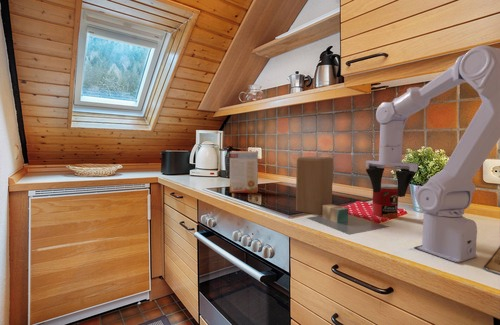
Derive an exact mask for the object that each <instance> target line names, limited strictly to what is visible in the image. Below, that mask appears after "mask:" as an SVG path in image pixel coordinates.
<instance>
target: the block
mask: <svg viewBox="0 0 500 325" xmlns="http://www.w3.org/2000/svg"><path fill="white" fill-rule="evenodd" d="M333 168H334V159H333V157H331V156H329V157H328V156H301V157H300V156H299V157H297V159H296V186H295V187H296V189H295V193H296V194H295V211H296V212H299V213H305V214H312V215H315V216H322V212H323V205H330V204H333V181H334V180H333V175H334V173H333V172H334V169H333Z"/></svg>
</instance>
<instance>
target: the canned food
mask: <svg viewBox="0 0 500 325" xmlns="http://www.w3.org/2000/svg"><path fill="white" fill-rule="evenodd" d="M371 207H372V208H371V213H372V215H373V216H376V217H379V218H387V219H393V218H395V219H397V217H398V210H399V208H398V207H399V197H398V184H393V183H382V182H381V190H380V192H374V191H373V190H372V205H371Z"/></svg>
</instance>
